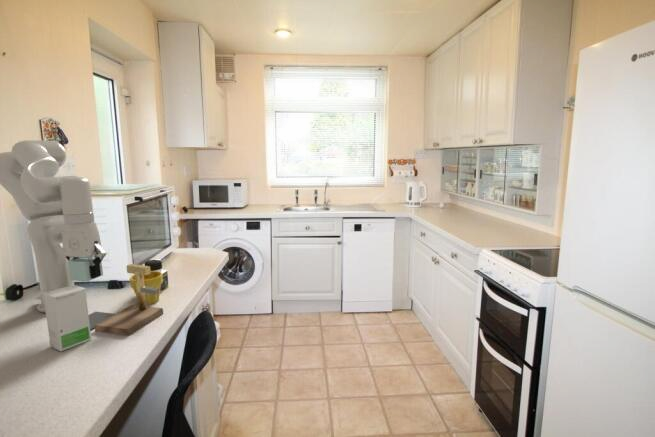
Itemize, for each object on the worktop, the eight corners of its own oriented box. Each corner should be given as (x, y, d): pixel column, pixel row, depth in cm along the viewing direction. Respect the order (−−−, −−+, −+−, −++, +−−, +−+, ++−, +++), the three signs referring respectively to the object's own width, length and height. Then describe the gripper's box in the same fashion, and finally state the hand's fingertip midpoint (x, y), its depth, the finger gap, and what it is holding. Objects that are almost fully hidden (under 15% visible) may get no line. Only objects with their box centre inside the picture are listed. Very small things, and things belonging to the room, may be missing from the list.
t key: (155, 312, 117) (151, 269, 115) (130, 307, 121) (125, 265, 119) (161, 309, 119) (157, 267, 117) (136, 304, 124) (132, 263, 121)
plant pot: (151, 308, 126) (148, 281, 124) (125, 306, 128) (122, 279, 127) (170, 296, 136) (168, 271, 134) (146, 294, 138) (143, 269, 137)
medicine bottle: (160, 293, 139) (157, 263, 137) (142, 293, 140) (138, 263, 137) (169, 286, 146) (166, 257, 144) (151, 286, 147) (148, 257, 144)
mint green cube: (70, 280, 112) (67, 261, 111) (87, 273, 117) (85, 255, 116) (86, 281, 110) (84, 262, 109) (103, 275, 116) (100, 256, 115)
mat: (65, 328, 112) (65, 326, 112) (95, 313, 123) (95, 311, 123) (89, 331, 110) (89, 329, 110) (118, 315, 121) (118, 314, 121)
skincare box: (60, 352, 99) (51, 297, 96) (48, 346, 102) (40, 292, 99) (93, 339, 106) (86, 287, 103) (81, 333, 109) (74, 283, 106)
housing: (95, 331, 110) (94, 325, 110) (132, 310, 125) (131, 304, 124) (129, 335, 108) (128, 329, 107) (163, 313, 122) (162, 308, 122)
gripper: (44, 220, 109) (53, 278, 112) (92, 222, 105) (100, 282, 108) (67, 216, 116) (75, 271, 119) (113, 217, 112) (119, 274, 115)
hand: (87, 275), depth 114 cm, fingers closed on mint green cube, 6 cm apart
